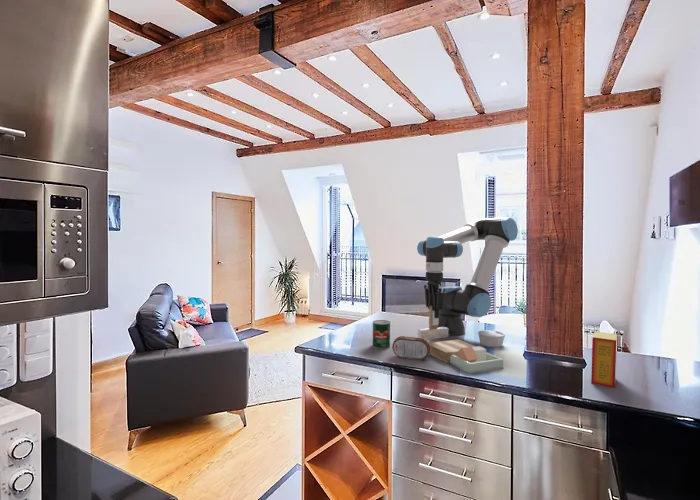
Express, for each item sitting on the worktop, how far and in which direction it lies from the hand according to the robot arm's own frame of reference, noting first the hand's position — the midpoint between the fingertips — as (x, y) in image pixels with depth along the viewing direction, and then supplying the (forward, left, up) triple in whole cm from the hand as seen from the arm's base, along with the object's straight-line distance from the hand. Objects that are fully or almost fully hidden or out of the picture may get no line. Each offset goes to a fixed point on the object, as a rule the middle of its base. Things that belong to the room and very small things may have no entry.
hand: (433, 324), depth 173 cm
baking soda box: (-31, +56, -10) cm, 65 cm away
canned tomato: (+22, -8, -10) cm, 25 cm away
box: (-1, +28, -10) cm, 30 cm away
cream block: (-3, +24, -7) cm, 25 cm away
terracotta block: (+3, +26, -7) cm, 27 cm away
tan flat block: (0, +14, -10) cm, 17 cm away
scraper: (0, 0, -6) cm, 6 cm away
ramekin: (-26, +7, -10) cm, 29 cm away
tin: (+18, +11, -10) cm, 23 cm away
